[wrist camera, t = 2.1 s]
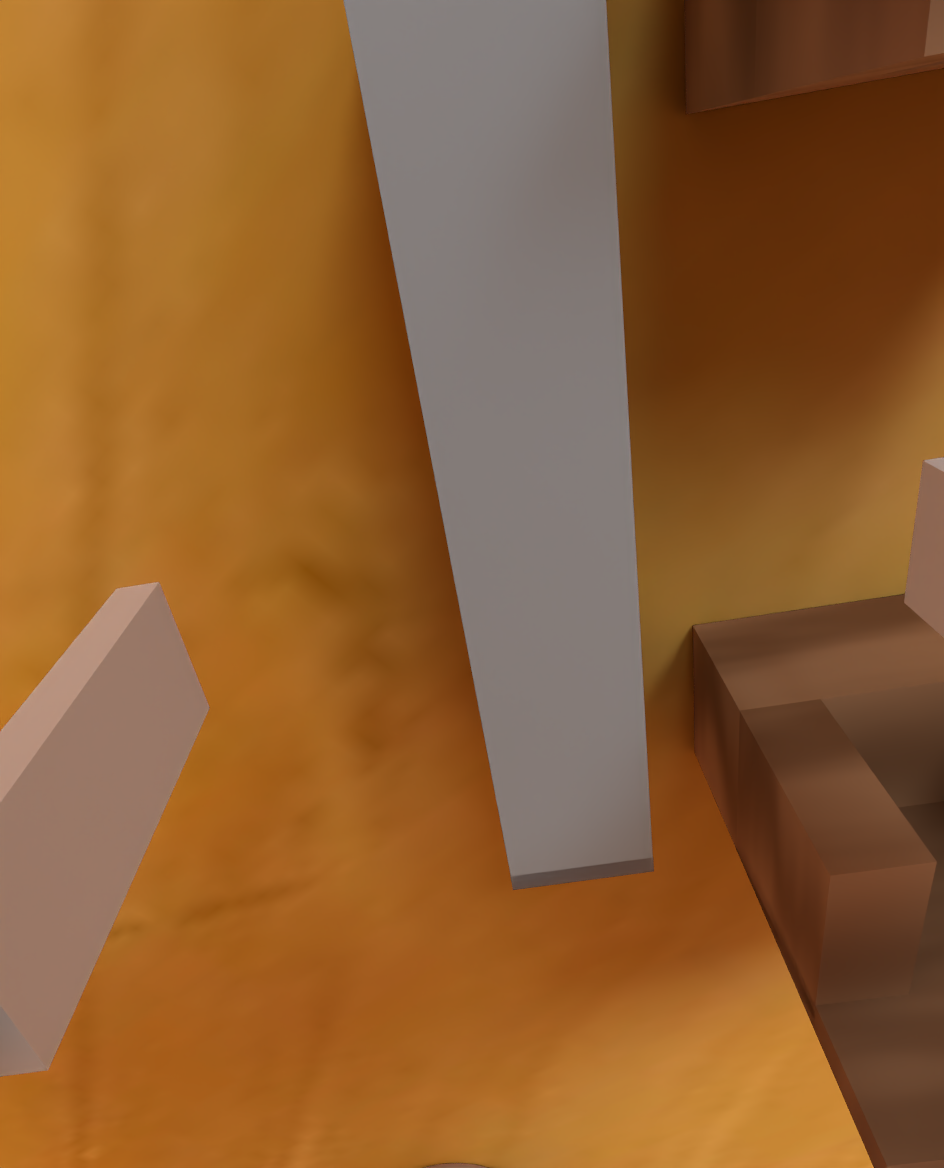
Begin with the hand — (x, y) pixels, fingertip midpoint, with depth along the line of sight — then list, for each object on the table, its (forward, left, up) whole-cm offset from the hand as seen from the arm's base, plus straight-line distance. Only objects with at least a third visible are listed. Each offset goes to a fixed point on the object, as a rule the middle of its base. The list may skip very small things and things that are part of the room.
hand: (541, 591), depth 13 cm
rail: (0, 0, -7) cm, 7 cm away
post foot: (+9, +9, -7) cm, 14 cm away
